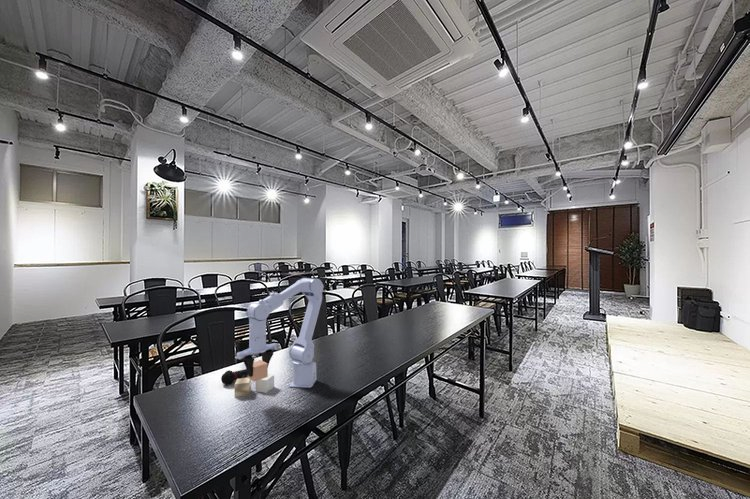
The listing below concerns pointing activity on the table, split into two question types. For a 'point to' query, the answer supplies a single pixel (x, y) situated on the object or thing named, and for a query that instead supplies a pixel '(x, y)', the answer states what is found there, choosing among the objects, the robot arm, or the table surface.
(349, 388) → the table surface
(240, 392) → the birch block
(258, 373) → the peach block
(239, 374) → the microphone
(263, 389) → the white block
